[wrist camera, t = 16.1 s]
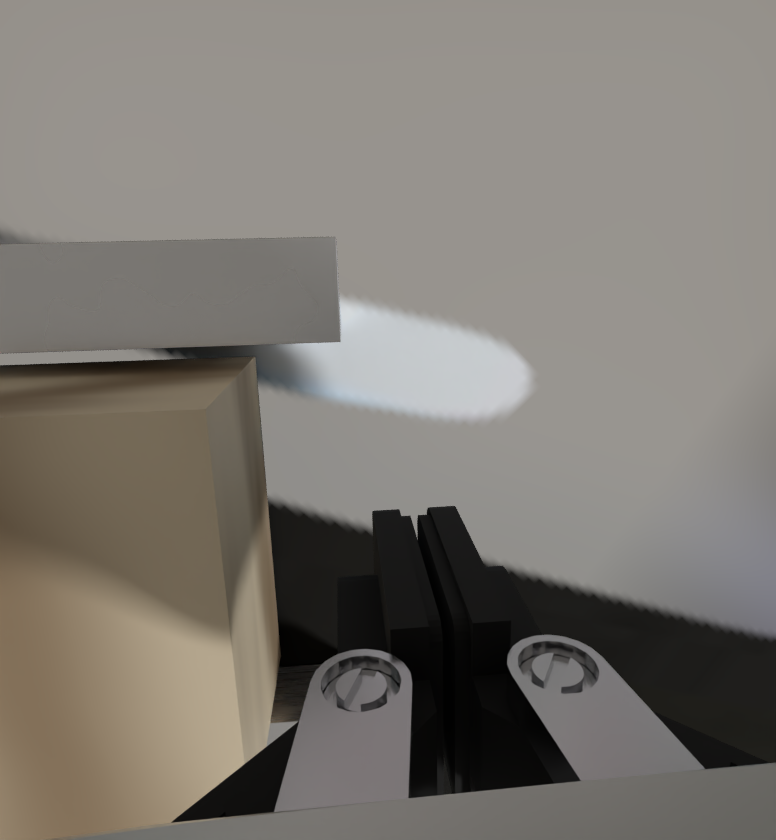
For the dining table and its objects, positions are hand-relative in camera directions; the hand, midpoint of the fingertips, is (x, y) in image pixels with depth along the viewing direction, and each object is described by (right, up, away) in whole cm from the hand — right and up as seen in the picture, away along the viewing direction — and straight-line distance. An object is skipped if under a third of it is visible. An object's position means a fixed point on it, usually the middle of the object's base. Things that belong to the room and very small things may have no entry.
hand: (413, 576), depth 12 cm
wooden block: (-6, +1, +3) cm, 7 cm away
